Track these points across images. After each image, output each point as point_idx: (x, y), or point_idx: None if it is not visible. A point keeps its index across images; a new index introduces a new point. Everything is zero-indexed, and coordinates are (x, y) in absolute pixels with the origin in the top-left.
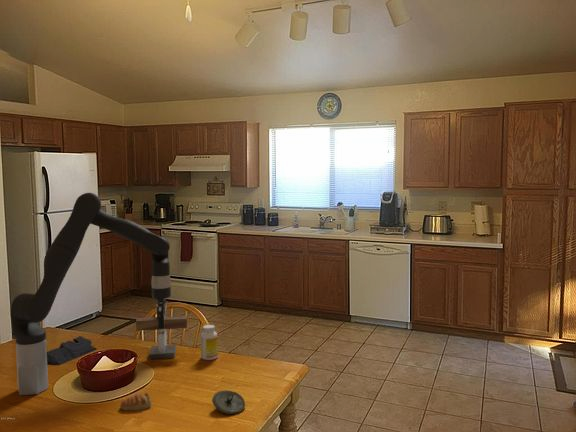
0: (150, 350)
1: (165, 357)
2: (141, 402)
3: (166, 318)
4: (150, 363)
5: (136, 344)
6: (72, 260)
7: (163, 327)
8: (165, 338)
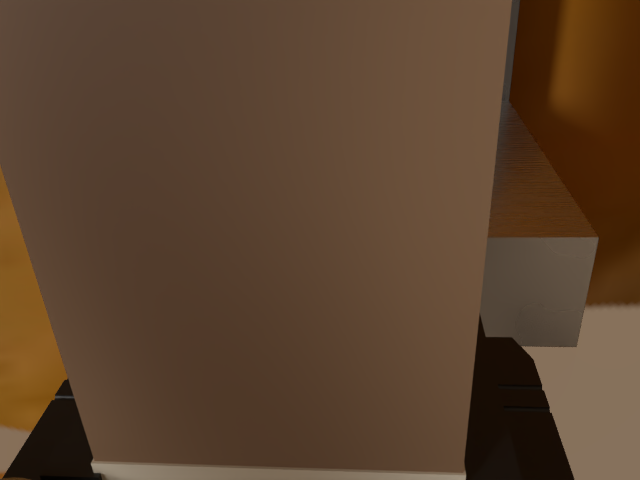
0: None
1: None
2: None
3: (311, 425)
4: (614, 224)
5: (35, 394)
6: None
7: (478, 329)
8: None
